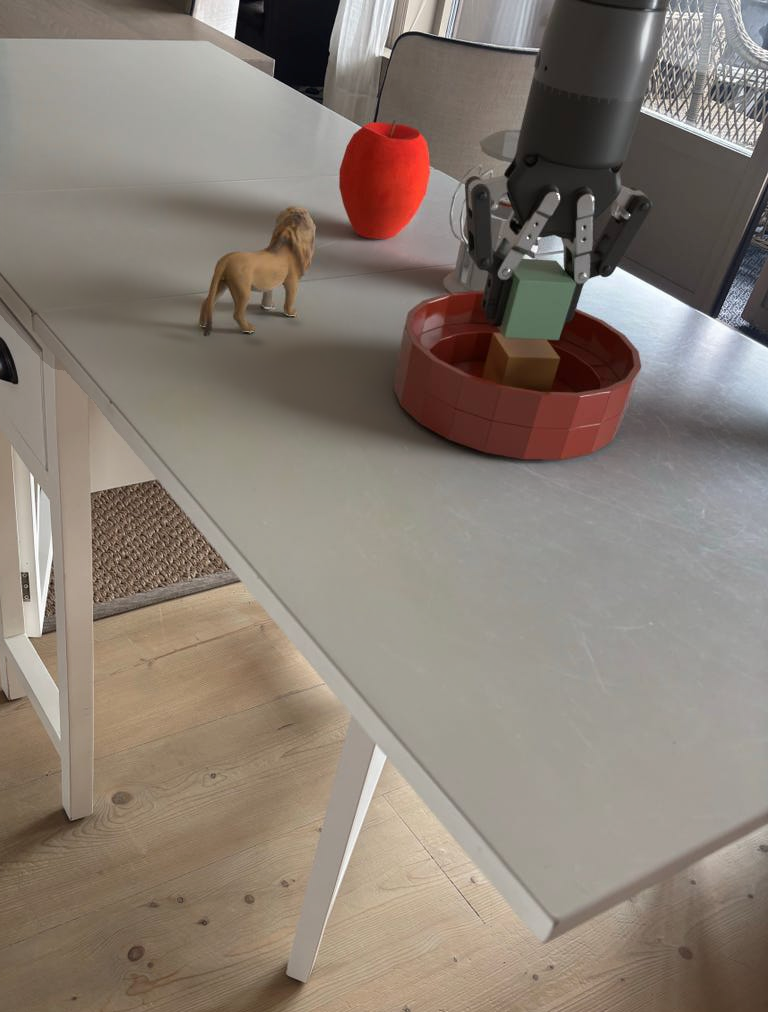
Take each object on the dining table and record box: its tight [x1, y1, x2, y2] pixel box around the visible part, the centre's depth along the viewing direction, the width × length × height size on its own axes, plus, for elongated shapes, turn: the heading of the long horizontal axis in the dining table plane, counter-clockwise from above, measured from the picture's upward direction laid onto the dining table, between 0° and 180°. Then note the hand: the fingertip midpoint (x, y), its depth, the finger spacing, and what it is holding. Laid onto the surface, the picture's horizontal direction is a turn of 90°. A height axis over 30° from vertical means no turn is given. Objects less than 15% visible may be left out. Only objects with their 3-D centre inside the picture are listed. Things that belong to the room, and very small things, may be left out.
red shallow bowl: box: [393, 291, 642, 461], centre depth 81 cm, size 19×19×6 cm
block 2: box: [482, 333, 560, 392], centre depth 83 cm, size 4×4×4 cm
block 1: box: [497, 258, 576, 340], centre depth 75 cm, size 4×4×4 cm
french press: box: [442, 11, 551, 293], centre depth 94 cm, size 10×12×25 cm
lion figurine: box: [198, 206, 316, 337], centre depth 89 cm, size 15×5×9 cm, turn 145°
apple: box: [338, 120, 431, 240], centre depth 107 cm, size 10×10×12 cm
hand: (524, 322), depth 76 cm, fingers closed on block 1, 4 cm apart
